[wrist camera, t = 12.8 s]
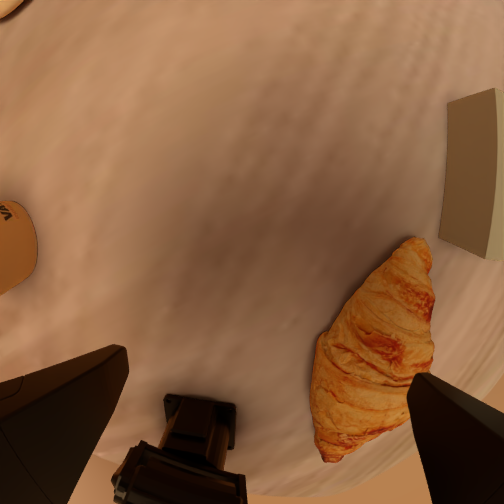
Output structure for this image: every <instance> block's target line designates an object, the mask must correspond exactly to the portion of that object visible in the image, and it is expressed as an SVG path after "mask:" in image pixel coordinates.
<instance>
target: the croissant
mask: <svg viewBox="0 0 504 504" xmlns="http://www.w3.org/2000/svg"><path fill="white" fill-rule="evenodd" d="M432 260H433V258H432V255H431V251H430V248H429V246H428V245H427V243H426V241H425V239H424V238H422V239H421V238H416V237H413V238H411V239H409V240H407V241H405V242H404V243H402V244H401V245H400V248H398V249H397V250H395V251H394V252H393V253H392V256H391V257H390V258H389V259H388V260H387V261H385V262H384V263H383V264H382V265H381V266H380V267H379V268H377V269H376V270H374V271H373V272H372V273H371V274H370V275H369V277H368V278H367V279H366V280H365V282H364V283H363V285H362V286H361V287H360V288H359V289H358V290H356V291H355V293H354V294H353V296H352V297H351V298H350V299H349V300H348V301H347V302H346V304H345V305H344V307H343V309H342V311H341V312H340V314H339V316H338V317H337V318H336V320H335V322H334V323H333V325H332V327H331V329H330V330H329V332H328V331H327V332H324V333H322V334H321V335H320V337H319V338H318V340H317V344H316V351H315V359H314V366H313V372H312V383H311V388H310V408H311V413H312V418H313V424H314V427H315V430H316V431H315V435H314V443H315V445H316V447H317V448H318V450H319V451H320V454H321V457H322V460H323V461H324V462H325V463H327V462H331V463H336V462H339V461H340V460H341V459H342V458H343V457H344V455H346V454H350V453H352V452H354V451H355V450H357V449H358V448H360V447H361V446H362V445H363V444H364V443H365V442H367V441H370V440H372V439H374V438H376V437H378V436H379V435H380V434H382V433H383V432H386V431H392V430H393V429H394V428H396V427H398V426H400V425H402V424H403V423H405V422H406V421H407V420H408V419H409V418H410V414H409V409H408V404H407V399H406V396H407V392H408V389H409V387H410V385H411V382H412V380H413V378H414V376H415V374H416V373H419V372H428V373H430V371H429V369H430V367H431V364H432V362H433V352H434V342H433V341H432V340H431V333H430V331H429V330H430V320H431V315H432V310H433V306H434V302H435V295H434V293H433V290H432V284H431V279H430V278H429V276H428V275H427V274H428V273H429V271H430V269H431V266H432ZM430 374H431V373H430Z"/></svg>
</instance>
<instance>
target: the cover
mask: <svg viewBox="0 0 504 504" xmlns="http://www.w3.org/2000/svg"><path fill="white" fill-rule="evenodd" d="M447 104H448V146H447V167H446V181H445V191H444V201H443V209H442V217H441V224H440V231H439V238H441V239H443V240H445V241H448V242H450V243H452V244H454V245H456V246H458V247H461V248H463V249H465V250H467V251H469V252H471V253H473V254H475V255H477V256H479V257H481V258H483V259H487V260H496V261H504V92H503V91H501V90H499V89H497V88H492V89H489V90H486V91H483V92H479V93H476V94H473V95H470V96H467V97H464V98H461V99H458V100H456V101H453V102H450V103H447Z"/></svg>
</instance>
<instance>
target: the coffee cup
mask: <svg viewBox="0 0 504 504" xmlns="http://www.w3.org/2000/svg"><path fill="white" fill-rule="evenodd" d="M36 260H37V239H36V233H35V229H34V226H33V223H32V221H31V219H30V217H29V215H28V213H27V212H26V211H25V209H24V208H23V207H22V206H21V205H19V204H18V203H16V202H13V201H0V296H1V295H2V294H4V293H5V292H7V291H8V290H10V289H11V288H13V287H14V286H16V285H17V284H19V283H20V282H22V281H23V280H24V279H26V278H27V277H28V276H29V275H30V274H31V273H32V272H33V270H34V267H35V265H36Z"/></svg>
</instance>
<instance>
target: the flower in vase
mask: <svg viewBox="0 0 504 504" xmlns="http://www.w3.org/2000/svg"><path fill="white" fill-rule="evenodd" d="M23 1H24V0H0V18H3V17H4V16H6V15H8V14H9V13H10V12H12V11H13V10H14V9H15V8H16V7H18V6H19V5H20V4H21V3H22V2H23Z"/></svg>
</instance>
